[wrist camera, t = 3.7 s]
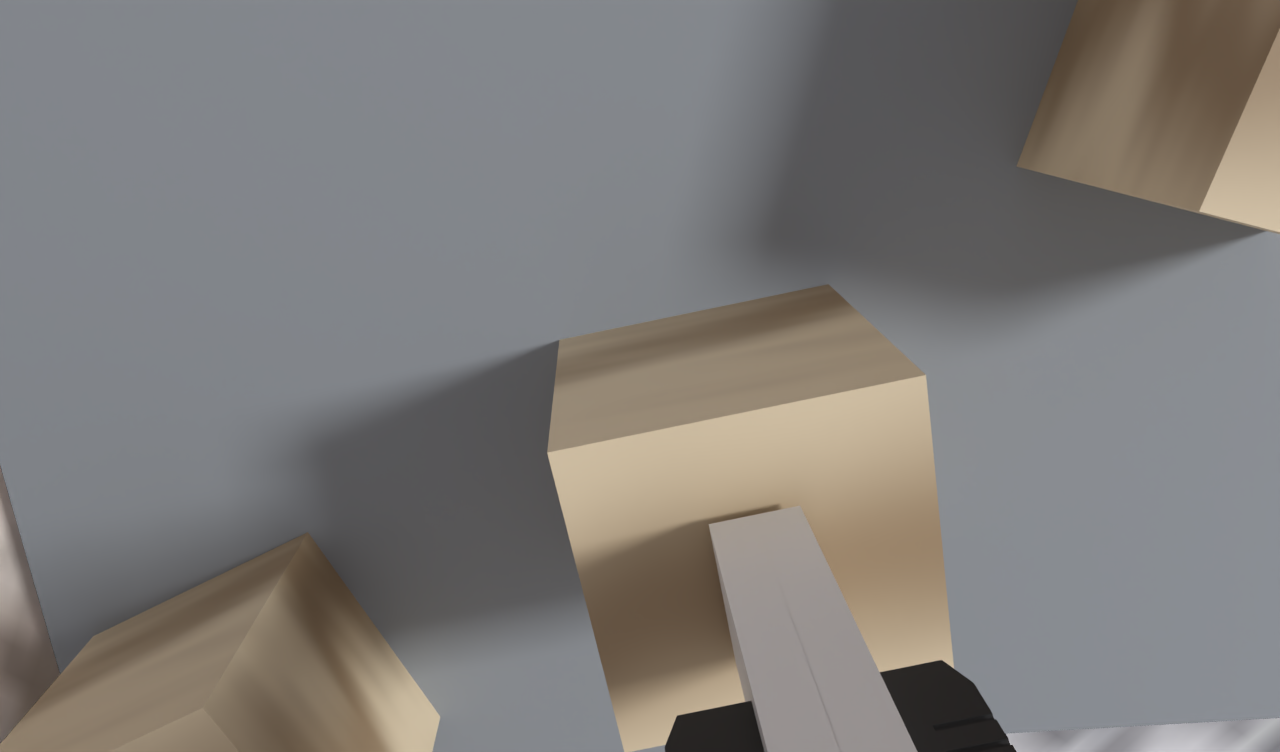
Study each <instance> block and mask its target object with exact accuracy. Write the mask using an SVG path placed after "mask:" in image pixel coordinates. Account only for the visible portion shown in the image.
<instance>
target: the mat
mask: <svg viewBox="0 0 1280 752" xmlns="http://www.w3.org/2000/svg"><path fill="white" fill-rule="evenodd" d="M1077 1H1078V0H0V466H1V470H2V473H3V477H4V480H5V484H6V487H7V490H8V494H9V497H10V501H11V504H12V508H13V511H14V515H15V518H16V522H17V525H18V529H19V532H20V536H21V539H22V543H23V546H24V550H25V553H26V557H27V560H28V564H29V567H30V571H31V574H32V578H33V581H34V585H35V588H36V592H37V595H38V599H39V602H40V606H41V609H42V613H43V616H44V620H45V623H46V627H47V630H48V633H49V637H50V640H51V644H52V647H53V651H54V654H55V658H56V661H57V665H58V668H59V672H60V674H61V673H62V672H63V671H64V670H65V668H66V667H67V666H68V665H69V664H70V663H71V661H72V660H73V659H74V658H75V657H76V656H77V655H78V653H79V652H80V651H81V650H82V649H83V648H84V646H85V645H86V644H87V643H88V642H89V641H90V639H91V638H92V637H93V636H95V635H97V634H99V633H101V632H103V631H105V630H107V629H109V628H111V627H113V626H115V625H117V624H120V623H122V622H124V621H126V620H128V619H130V618H132V617H134V616H136V615H138V614H140V613H142V612H144V611H146V610H148V609H150V608H153V607H155V606H157V605H159V604H161V603H163V602H165V601H167V600H169V599H171V598H173V597H175V596H177V595H179V594H181V593H183V592H186V591H188V590H190V589H192V588H194V587H196V586H198V585H200V584H202V583H204V582H206V581H208V580H210V579H212V578H214V577H216V576H219V575H221V574H223V573H225V572H227V571H229V570H231V569H233V568H235V567H237V566H239V565H241V564H243V563H245V562H247V561H249V560H252V559H254V558H256V557H258V556H260V555H262V554H264V553H266V552H268V551H270V550H272V549H274V548H276V547H278V546H280V545H282V544H285V543H287V542H289V541H291V540H293V539H295V538H297V537H299V536H301V535H303V534H305V533H307V532H308V533H309V534H310V536H311V537H312V538H313V540H314V541H315V543H316V544H317V545H318V547H319V548H320V550H321V551H322V552H323V554H324V555H325V557H326V558H327V559H328V561H329V562H330V564H331V565H332V566H333V568H334V569H335V571H336V572H337V573H338V575H339V576H340V578H341V579H342V580H343V582H344V583H345V584H346V586H347V587H348V589H349V590H350V591H351V593H352V594H353V596H354V597H355V598H356V600H357V601H358V603H359V604H360V605H361V607H362V608H363V610H364V611H365V612H366V614H367V615H368V617H369V618H370V619H371V621H372V622H373V624H374V625H375V626H376V628H377V629H378V630H379V632H380V633H381V635H382V636H383V637H384V639H385V640H386V642H387V643H388V644H389V646H390V647H391V649H392V650H393V651H394V653H395V654H396V656H397V657H398V658H399V660H400V661H401V663H402V664H403V665H404V667H405V668H406V670H407V671H408V672H409V674H410V675H411V676H412V678H413V679H414V681H415V682H416V683H417V685H418V686H419V688H420V689H421V690H422V692H423V693H424V695H425V696H426V697H427V699H428V700H429V702H430V703H431V704H432V706H433V707H434V709H435V710H436V711H437V713H438V714H439V716H440V720H439V725H438V729H437V734H436V738H435V742H434V747H433V751H432V752H624V749H623V745H622V741H621V737H620V733H619V729H618V726H617V722H616V718H615V714H614V710H613V706H612V702H611V698H610V695H609V691H608V687H607V683H606V679H605V675H604V671H603V667H602V664H601V660H600V656H599V652H598V648H597V644H596V640H595V636H594V632H593V629H592V625H591V621H590V617H589V613H588V609H587V605H586V601H585V598H584V594H583V590H582V586H581V582H580V578H579V574H578V570H577V567H576V563H575V559H574V555H573V551H572V547H571V543H570V539H569V536H568V532H567V528H566V524H565V520H564V516H563V512H562V508H561V505H560V501H559V497H558V493H557V489H556V485H555V481H554V477H553V474H552V470H551V466H550V462H549V458H548V454H547V449H548V440H549V431H550V422H551V413H552V403H553V394H554V385H555V376H556V367H557V357H558V348H559V340H561V339H566V338H571V337H576V336H580V335H585V334H590V333H595V332H600V331H605V330H609V329H614V328H619V327H624V326H629V325H634V324H638V323H643V322H648V321H653V320H658V319H662V318H667V317H672V316H677V315H682V314H687V313H691V312H696V311H701V310H706V309H711V308H716V307H720V306H725V305H730V304H735V303H740V302H745V301H749V300H754V299H759V298H764V297H769V296H774V295H778V294H783V293H788V292H793V291H798V290H802V289H807V288H812V287H817V286H822V285H827V284H829V285H830V286H831V287H832V288H833V289H834V290H835V291H836V292H837V293H839V294H840V295H841V296H842V297H843V298H844V299H845V300H846V301H847V302H848V303H849V304H850V305H851V306H852V307H854V308H855V309H856V310H857V311H858V312H859V313H860V314H861V315H862V316H863V317H864V318H865V319H866V320H867V321H869V322H870V323H871V324H872V325H873V326H874V327H875V328H876V329H877V330H878V331H879V332H880V333H881V334H883V335H884V336H885V337H886V338H887V339H888V340H889V341H890V342H891V343H892V344H893V345H894V346H895V347H896V348H898V349H899V350H900V351H901V352H902V353H903V354H904V355H905V356H906V357H907V358H908V359H909V360H910V361H911V362H913V363H914V364H915V365H916V366H917V367H918V368H919V369H920V370H921V371H922V372H923V373H924V374H925V375H926V380H927V391H928V401H929V412H930V422H931V433H932V443H933V453H934V464H935V474H936V485H937V495H938V506H939V516H940V527H941V537H942V548H943V558H944V569H945V579H946V589H947V600H948V610H949V621H950V631H951V642H952V652H953V663H954V669H955V670H957V671H958V672H959V673H961V674H962V675H964V676H965V677H966V678H968V679H969V680H970V681H972V682H973V683H974V684H975V686H976V687H977V689H978V691H979V692H980V694H981V695H982V697H983V699H984V700H985V702H986V704H987V705H988V707H989V708H990V710H991V712H992V713H993V717H994V719H996V720H997V721H998V723H999V724H1000V726H1001V728H1002V729H1003V731H1004V733H1022V732H1040V731H1058V730H1075V729H1093V728H1110V727H1128V726H1145V725H1163V724H1181V723H1198V722H1216V721H1233V720H1251V719H1268V718H1280V234H1277V233H1273V232H1269V231H1265V230H1261V229H1257V228H1253V227H1249V226H1245V225H1241V224H1238V223H1234V222H1230V221H1226V220H1222V219H1218V218H1214V217H1210V216H1207V215H1203V214H1199V213H1195V212H1191V211H1187V210H1183V209H1179V208H1176V207H1172V206H1168V205H1164V204H1160V203H1156V202H1152V201H1148V200H1144V199H1141V198H1137V197H1133V196H1129V195H1125V194H1121V193H1117V192H1113V191H1110V190H1106V189H1102V188H1098V187H1094V186H1090V185H1086V184H1082V183H1079V182H1075V181H1071V180H1067V179H1063V178H1059V177H1055V176H1051V175H1048V174H1044V173H1040V172H1036V171H1032V170H1028V169H1024V168H1020V167H1017V164H1018V161H1019V158H1020V156H1021V153H1022V150H1023V147H1024V145H1025V142H1026V139H1027V137H1028V134H1029V131H1030V129H1031V126H1032V123H1033V120H1034V118H1035V115H1036V112H1037V110H1038V107H1039V104H1040V101H1041V99H1042V96H1043V93H1044V91H1045V88H1046V85H1047V83H1048V80H1049V77H1050V74H1051V72H1052V69H1053V66H1054V64H1055V61H1056V58H1057V56H1058V53H1059V50H1060V47H1061V45H1062V42H1063V39H1064V37H1065V34H1066V31H1067V29H1068V26H1069V23H1070V20H1071V18H1072V15H1073V12H1074V10H1075V7H1076V4H1077ZM632 752H665V745H662V746H657V747H652V748H647V749H642V750H637V751H632Z"/></svg>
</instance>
